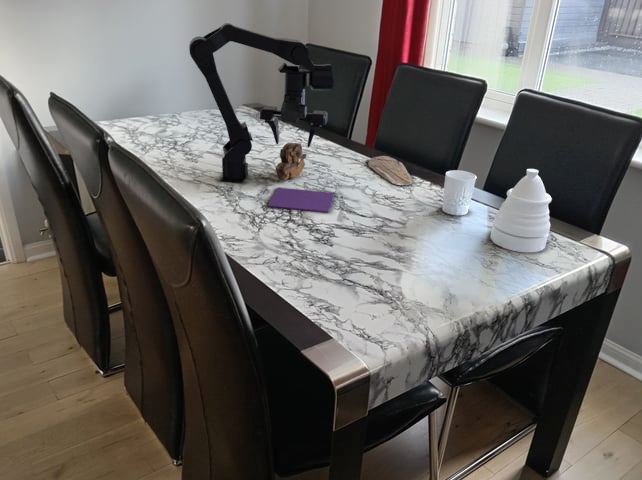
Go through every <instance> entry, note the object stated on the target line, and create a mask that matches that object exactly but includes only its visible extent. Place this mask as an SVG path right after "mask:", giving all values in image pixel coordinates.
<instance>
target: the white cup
mask: <svg viewBox="0 0 642 480" xmlns="http://www.w3.org/2000/svg"><path fill="white" fill-rule="evenodd" d="M476 180H477V175H476V174H475V173H473V172H470V171H466V170H461V169H459V170H458V169H455V170H454V169H453V170H448V171H446V172H445V176H444V185H443V193H442V194H443V195H442V208H441V209H442V212H443V213H445V214H448V215H451V216H464V215H467V214H468V212H469V209H470V204H471V201H472V197H473V195H474V189H475V185H476Z"/></svg>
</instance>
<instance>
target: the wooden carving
mask: <svg viewBox="0 0 642 480" xmlns="http://www.w3.org/2000/svg"><path fill="white" fill-rule="evenodd" d="M307 156H308V155H307V153H303V146H302V144H301V143H299V142H287V143H285V144H284V145H283V147H282V148H280V151H279V158H280V162H279V163H277V165H276V167H275V172H276V175H277V179H278V181H288V179H289V178H291V179H295V178H298V176H300V175H301V174H302V172H303V171H304V169H305V166H306V163H305V160H304V159H306V158H307Z"/></svg>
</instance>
